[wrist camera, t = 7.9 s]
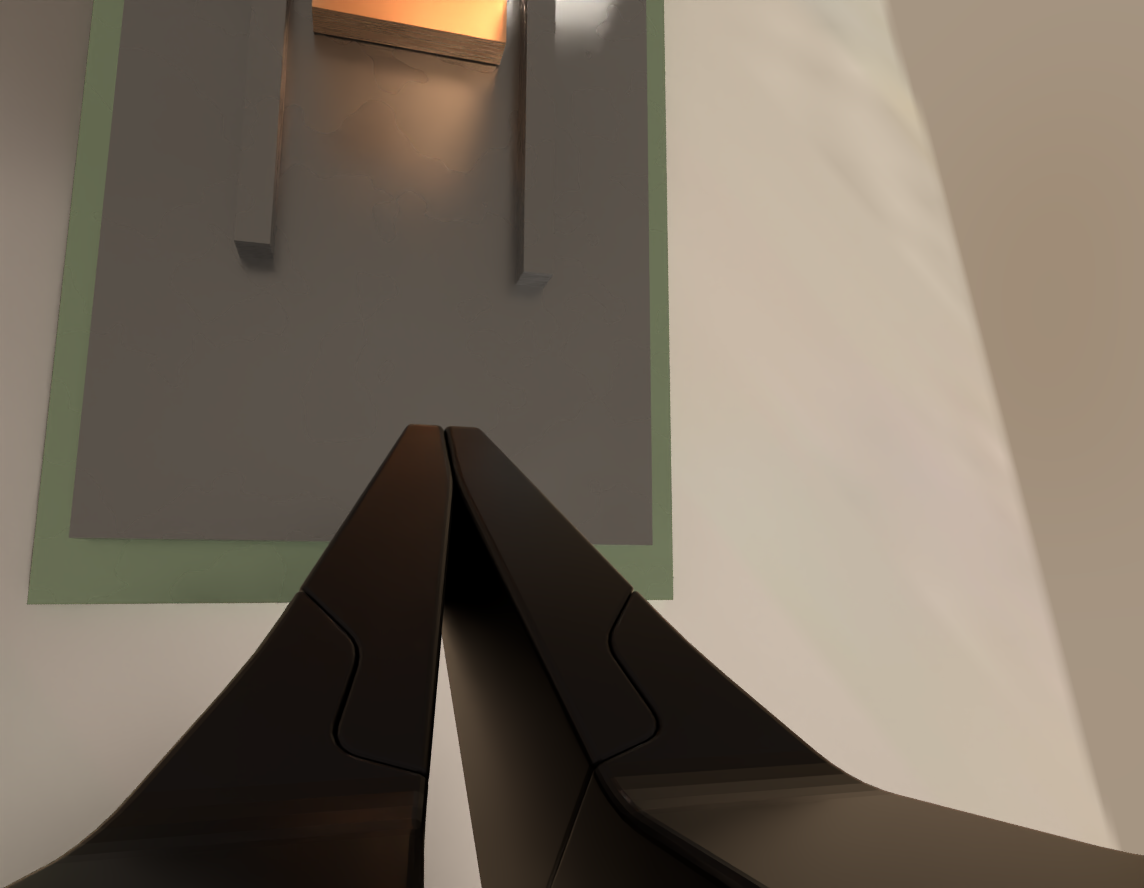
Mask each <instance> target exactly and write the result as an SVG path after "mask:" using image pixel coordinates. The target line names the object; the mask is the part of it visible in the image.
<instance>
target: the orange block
mask: <svg viewBox="0 0 1144 888" xmlns="http://www.w3.org/2000/svg"><path fill="white" fill-rule="evenodd" d="M312 17H313V32H317V33H322V34H328V35H334V36H339V37H345V38H350V39H356V40H362V41H367V42H373V43H378V44H384V45H390V46H395V47H401V48H407V49H412V50H418V51H423V52H429V53H435V54H440V55H446V56H451V57H457V58H463V59H468V60H474V61H480V62H485V63H491V64H496V65H500V61H501V58H502V55H503V51H504V48H505V45H506V25H507V0H312Z"/></svg>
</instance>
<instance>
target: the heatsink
mask: <svg viewBox="0 0 1144 888" xmlns="http://www.w3.org/2000/svg"><path fill="white" fill-rule="evenodd" d="M409 424H425V425H438V426H441V427H442V428H443V430H444V429H445V428H446V427H448V426H461V427H476V428H479V429H481V430H482V431H483V432H484V433H485V434H486V435H487V436H488V437H489V438H490V439H491V440H492V442H493V443H494V444H495V445H496V446H497V447H498V448H499V449H500V450H501V451H502V452H503V453H504V454H505V455H506V456H507V457H508V458H509V459H510V460H511V461H512V462H513V463H514V464H515V465H516V466H517V467H518V468H519V469H520V470H521V471H522V473H523V474H524V475H525V476H526V477H527V478H528V479H529V480H530V481H531V482H532V483H533V484H534V485H535V486H536V487H537V488H538V489H539V490H540V491H541V492H542V493H543V494H544V495H545V496H546V497H547V498H548V499H549V500H550V501H551V502H552V504H553V505H554V506H555V507H556V508H557V509H558V510H559V511H560V512H561V513H562V514H563V515H564V516H565V517H566V518H567V519H568V520H569V521H570V522H571V523H572V524H573V525H574V526H575V527H576V528H577V529H578V530H579V531H580V532H581V533H582V535H583V536H584V537H585V538H586V539H587V540H588V541H589V542H590V543H591V544H592V545H593V546H594V547H595V548H596V549H597V550H598V551H599V552H600V553H601V554H602V555H603V556H604V557H605V558H606V559H607V560H608V561H609V562H610V563H611V564H612V566H613V567H614V568H615V569H616V570H617V571H618V572H619V573H620V574H621V575H622V576H623V577H624V578H625V579H626V580H627V581H628V582H629V583H630V584H631V585H632V586H633V588H634V591H637V592H639V593H640V594H641V595H642V596H643V597H644V598H645V599H646V600H673V556H672V492H671V428H670V365H669V301H668V237H667V173H666V110H665V46H664V0H507V25H506V45H505V48H504V51H503V55H502V58H501V61H500V65H496V64H491V63H485V62H480V61H474V60H468V59H463V58H457V57H451V56H446V55H440V54H435V53H429V52H423V51H418V50H412V49H407V48H401V47H395V46H390V45H384V44H378V43H373V42H367V41H362V40H356V39H350V38H345V37H339V36H334V35H328V34H322V33H317V32H313V17H312V0H94V1H93V11H92V20H91V29H90V38H89V47H88V56H87V65H86V74H85V83H84V92H83V101H82V110H81V119H80V129H79V138H78V147H77V156H76V165H75V174H74V183H73V192H72V201H71V210H70V219H69V228H68V237H67V246H66V256H65V265H64V274H63V283H62V292H61V301H60V310H59V319H58V328H57V337H56V346H55V355H54V364H53V374H52V383H51V392H50V401H49V410H48V419H47V428H46V437H45V446H44V455H43V464H42V473H41V482H40V492H39V501H38V510H37V519H36V528H35V537H34V546H33V555H32V564H31V573H30V582H29V591H28V600H27V604H148V603H287V602H290V601H291V600H292V598H293V597H294V595H295V594H296V593H297V592H299V589H300V587H301V585H302V584H303V582H304V581H305V579H306V578H307V576H308V575H309V573H310V572H311V570H312V569H313V567H314V566H315V564H316V563H317V561H318V560H319V558H320V557H321V555H322V554H323V552H324V551H325V549H326V547H327V546H328V544H329V543H330V541H331V540H332V538H333V537H334V535H335V534H336V532H337V531H338V529H339V528H340V526H341V525H342V523H343V522H344V520H345V519H346V517H347V516H348V514H349V513H350V511H351V510H352V508H353V506H354V505H355V503H356V502H357V500H358V499H359V497H360V496H361V494H362V493H363V491H364V490H365V488H366V487H367V485H368V484H369V482H370V481H371V479H372V478H373V476H374V475H375V473H376V472H377V470H378V469H379V467H380V465H381V464H382V462H383V461H384V459H385V458H386V456H387V455H388V453H389V452H390V450H391V449H392V447H393V446H394V444H395V443H396V441H397V440H398V438H399V437H400V435H401V434H402V432H403V431H404V429H405V428H406V427H407V426H408V425H409ZM634 591H633V592H634Z"/></svg>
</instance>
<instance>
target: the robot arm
mask: <svg viewBox="0 0 1144 888" xmlns="http://www.w3.org/2000/svg"><path fill="white" fill-rule="evenodd" d="M633 591H634V588H633V586H632V585H631V584H630V583H629V582H628V581H627V580H626V579H625V578H624V577H623V576H622V575H621V574H620V573H619V572H618V571H617V570H616V569H615V568H614V567H613V566H612V564H611V563H610V562H609V561H608V560H607V559H606V558H605V557H604V556H603V555H602V554H601V553H600V552H599V551H598V550H597V549H596V548H595V547H594V546H593V545H592V544H591V543H590V542H589V541H588V540H587V539H586V538H585V537H584V536H583V535H582V533H581V532H580V531H579V530H578V529H577V528H576V527H575V526H574V525H573V524H572V523H571V522H570V521H569V520H568V519H567V518H566V517H565V516H564V515H563V514H562V513H561V512H560V511H559V510H558V509H557V508H556V507H555V506H554V505H553V504H552V502H551V501H550V500H549V499H548V498H547V497H546V496H545V495H544V494H543V493H542V492H541V491H540V490H539V489H538V488H537V487H536V486H535V485H534V484H533V483H532V482H531V481H530V480H529V479H528V478H527V477H526V476H525V475H524V474H523V473H522V471H521V470H520V469H519V468H518V467H517V466H516V465H515V464H514V463H513V462H512V461H511V460H510V459H509V458H508V457H507V456H506V455H505V454H504V453H503V452H502V451H501V450H500V449H499V448H498V447H497V446H496V445H495V444H494V443H493V442H492V440H491V439H490V438H489V437H488V436H487V435H486V434H485V433H484V432H483V431H482V430H481V429H479V428H476V427H461V426H448V427H446V428H445V429H444V430H443V428H442V427H441V426H438V425H425V424H409V425H408V426H407V427H406V428H405V429H404V431H403V432H402V434H401V435H400V437H399V438H398V440H397V441H396V443H395V444H394V446H393V447H392V449H391V450H390V452H389V453H388V455H387V456H386V458H385V459H384V461H383V462H382V464H381V465H380V467H379V469H378V470H377V472H376V473H375V475H374V476H373V478H372V479H371V481H370V482H369V484H368V485H367V487H366V488H365V490H364V491H363V493H362V494H361V496H360V497H359V499H358V500H357V502H356V503H355V505H354V506H353V508H352V510H351V511H350V513H349V514H348V516H347V517H346V519H345V520H344V522H343V523H342V525H341V526H340V528H339V529H338V531H337V532H336V534H335V535H334V537H333V538H332V540H331V541H330V543H329V544H328V546H327V547H326V549H325V551H324V552H323V554H322V555H321V557H320V558H319V560H318V561H317V563H316V564H315V566H314V567H313V569H312V570H311V572H310V573H309V575H308V576H307V578H306V579H305V581H304V582H303V584H302V585H301V587H300V589H299V592H297V593H296V594H295V595H294V597H293V598H292V600H291V601H290V603H289V604H288V606H287V608H286V609H285V611H284V612H283V614H282V615H281V617H280V618H279V619H278V621H277V622H276V624H275V625H274V626H273V628H272V629H271V631H270V632H269V633H268V635H267V636H266V638H265V639H264V640H263V642H262V643H261V644H260V646H259V647H258V649H257V650H256V651H255V653H254V654H253V655H252V656H251V658H250V659H249V660H248V661H247V662H246V664H245V665H244V666H243V667H242V668H241V670H240V671H239V672H238V673H237V674H236V675H235V677H234V678H233V679H232V680H231V681H230V683H229V684H228V685H227V686H226V687H225V689H224V690H223V691H222V692H221V693H220V694H219V696H218V697H217V698H216V699H215V700H214V701H213V702H212V703H211V705H210V706H209V707H208V708H207V709H206V710H205V711H204V712H203V714H202V715H201V716H200V717H199V718H198V719H197V720H196V721H195V723H194V724H193V725H192V726H191V727H190V728H189V729H188V730H187V731H186V733H185V734H184V735H183V736H182V737H181V738H180V739H179V740H178V742H177V743H176V744H175V745H174V746H173V747H172V748H171V749H170V751H169V752H168V753H167V754H166V755H165V756H164V757H163V758H162V760H161V761H160V762H159V763H158V764H157V765H156V766H155V767H154V769H153V770H152V771H151V772H150V773H149V774H148V775H147V776H146V778H145V779H144V780H143V781H142V782H141V783H140V784H139V785H138V786H137V788H136V789H135V790H134V791H133V792H132V793H131V794H130V795H129V797H128V798H127V799H126V800H125V801H124V802H123V803H122V804H121V805H120V806H119V807H118V808H117V809H116V810H115V812H114V813H113V814H112V815H111V816H110V817H109V818H107V819H106V820H105V821H104V822H103V823H102V824H101V825H100V826H99V827H98V828H97V829H96V830H95V831H93V832H92V833H91V834H90V835H89V836H87V837H86V838H85V839H84V840H82V841H81V842H80V843H79V844H78V845H76V846H75V847H74V848H72V849H71V850H69V851H68V852H66V853H65V854H64V855H62V856H61V857H59V858H58V859H56V860H55V861H53V862H51V863H49V864H48V865H46V866H44V867H42V868H40V869H38V870H36V871H34V872H32V873H31V874H29V875H27V876H25V877H23V878H21V879H19V880H17V881H15V882H13V883H12V884H10V885H8V886H6V887H4V888H424V839H425V822H426V808H427V795H428V780H429V772H430V761H431V750H432V738H433V727H434V716H435V704H436V693H437V682H438V670H439V659H440V648H441V636H442V639H443V645H444V651H445V658H446V664H447V670H448V677H449V683H450V689H451V696H452V702H453V708H454V715H455V721H456V727H457V734H458V740H459V746H460V753H461V759H462V765H463V772H464V778H465V784H466V791H467V797H468V803H469V810H470V816H471V822H472V829H473V835H474V841H475V848H476V854H477V860H478V867H479V873H480V879H481V886H482V888H1144V855H1138V854H1132V853H1127V852H1123V851H1118V850H1114V849H1109V848H1104V847H1100V846H1096V845H1092V844H1088V843H1084V842H1080V841H1076V840H1073V839H1069V838H1065V837H1061V836H1057V835H1053V834H1049V833H1045V832H1041V831H1038V830H1034V829H1030V828H1026V827H1022V826H1018V825H1014V824H1010V823H1006V822H1003V821H999V820H995V819H991V818H987V817H983V816H979V815H975V814H971V813H968V812H964V811H960V810H956V809H952V808H948V807H944V806H940V805H936V804H933V803H929V802H925V801H921V800H917V799H913V798H909V797H905V796H901V795H898V794H894V793H891V792H887V791H884V790H881V789H879V788H876V787H874V786H872V785H869V784H867V783H864V782H862V781H861V780H859V779H857V778H855V777H853V776H851V775H849V774H848V773H846V772H844V771H843V770H841V769H840V768H838V767H837V766H835V765H834V764H832V763H831V762H829V761H828V760H827V759H826V758H824V757H823V756H822V755H820V754H819V753H818V752H817V751H815V750H814V749H813V748H812V747H811V746H809V745H808V744H807V743H806V742H805V741H803V740H802V739H801V738H800V737H799V736H798V735H796V734H795V733H794V732H793V731H792V730H790V729H789V728H788V727H787V726H786V725H784V724H783V723H782V722H781V721H780V720H779V719H777V718H776V717H775V716H774V715H773V714H771V713H770V712H769V711H768V710H767V709H766V708H764V707H763V706H762V705H761V704H760V703H758V702H757V701H756V700H755V699H754V698H753V697H751V696H750V695H749V694H748V693H747V692H745V691H744V690H743V689H742V688H741V687H740V686H738V685H737V684H736V683H735V682H734V681H732V680H731V679H730V678H729V677H728V676H726V675H725V674H724V673H723V672H722V671H721V670H720V669H719V668H717V667H716V666H715V665H714V664H713V663H712V662H711V661H709V660H708V659H707V658H706V657H705V656H704V655H703V654H702V653H700V652H699V651H698V650H697V649H696V648H695V647H694V646H693V645H691V644H690V643H689V642H688V641H687V640H686V639H685V638H684V637H683V636H682V635H681V634H680V633H679V632H678V631H677V630H676V629H675V628H674V627H673V626H672V625H671V624H670V623H669V622H668V621H667V620H666V619H664V618H663V617H662V616H661V615H660V614H659V613H658V612H657V611H656V610H655V609H654V608H653V607H652V605H651V604H650V603H649V602H648V601H647V600H646V599H645V598H644V597H643V596H642V595H641V594H640V593H639V592H637V591H634V592H633Z"/></svg>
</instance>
